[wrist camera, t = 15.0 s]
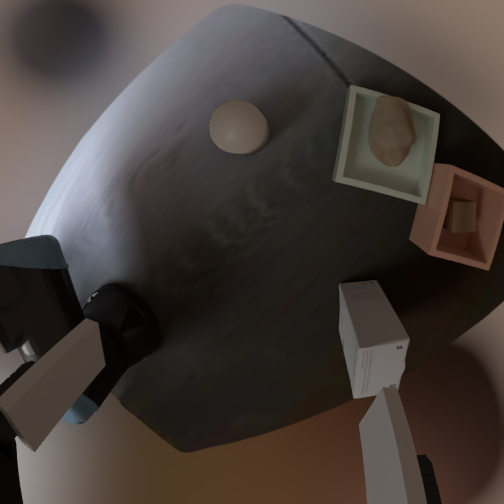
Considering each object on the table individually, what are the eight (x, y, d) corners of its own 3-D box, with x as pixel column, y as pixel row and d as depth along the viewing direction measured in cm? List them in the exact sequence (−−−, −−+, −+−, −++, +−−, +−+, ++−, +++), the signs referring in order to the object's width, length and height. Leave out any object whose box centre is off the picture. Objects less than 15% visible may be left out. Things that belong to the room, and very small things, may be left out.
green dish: (332, 179, 35) (335, 181, 32) (346, 90, 31) (350, 84, 28) (416, 201, 34) (425, 205, 31) (430, 116, 30) (440, 114, 27)
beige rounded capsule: (221, 151, 36) (205, 149, 30) (228, 108, 34) (213, 97, 28) (266, 157, 36) (259, 157, 29) (273, 113, 34) (268, 103, 27)
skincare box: (338, 282, 39) (355, 344, 25) (378, 278, 38) (412, 336, 24) (338, 331, 42) (350, 401, 28) (375, 327, 41) (400, 393, 27)
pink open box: (408, 238, 36) (428, 254, 29) (426, 162, 32) (450, 164, 26) (465, 254, 35) (488, 270, 28) (482, 185, 31) (509, 191, 25)
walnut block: (439, 225, 34) (452, 232, 30) (440, 197, 33) (453, 202, 29) (460, 225, 33) (474, 231, 29) (461, 197, 32) (476, 202, 28)
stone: (353, 120, 33) (373, 175, 32) (360, 93, 27) (385, 154, 26) (398, 115, 32) (419, 167, 31) (410, 89, 26) (437, 147, 25)
